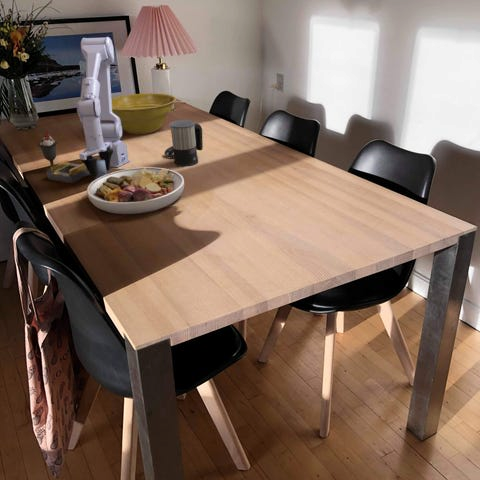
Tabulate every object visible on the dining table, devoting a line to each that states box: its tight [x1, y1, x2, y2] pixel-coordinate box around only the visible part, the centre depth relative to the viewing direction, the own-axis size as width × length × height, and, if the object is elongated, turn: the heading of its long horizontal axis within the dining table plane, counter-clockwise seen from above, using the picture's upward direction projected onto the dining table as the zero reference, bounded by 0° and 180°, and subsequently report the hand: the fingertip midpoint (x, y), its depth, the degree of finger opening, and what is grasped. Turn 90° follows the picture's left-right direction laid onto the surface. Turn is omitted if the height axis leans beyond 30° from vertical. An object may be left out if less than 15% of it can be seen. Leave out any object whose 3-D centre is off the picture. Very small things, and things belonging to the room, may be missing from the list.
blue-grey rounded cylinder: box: [94, 158, 108, 180], centre depth 177 cm, size 4×4×6 cm
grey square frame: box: [46, 159, 91, 184], centre depth 180 cm, size 11×11×4 cm
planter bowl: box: [111, 92, 177, 135], centre depth 227 cm, size 32×32×13 cm
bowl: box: [86, 166, 185, 215], centre depth 160 cm, size 30×30×8 cm
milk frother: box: [163, 119, 204, 167], centre depth 189 cm, size 14×16×15 cm
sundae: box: [37, 130, 58, 173], centre depth 184 cm, size 7×7×15 cm
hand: (100, 173), depth 178 cm, fingers open, 6 cm apart
